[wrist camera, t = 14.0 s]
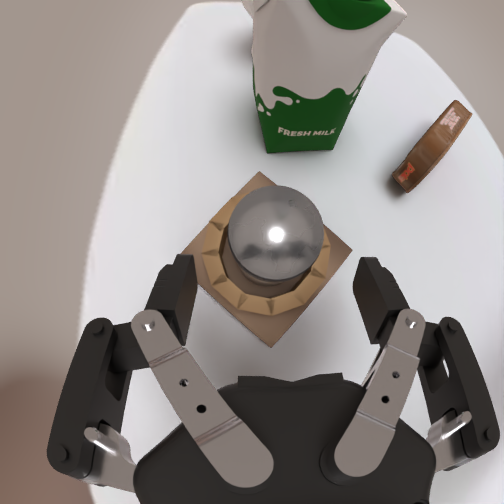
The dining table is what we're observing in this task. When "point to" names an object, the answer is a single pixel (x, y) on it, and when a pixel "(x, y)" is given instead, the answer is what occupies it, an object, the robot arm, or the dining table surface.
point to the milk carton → (314, 65)
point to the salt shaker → (275, 235)
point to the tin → (432, 146)
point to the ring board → (249, 294)
